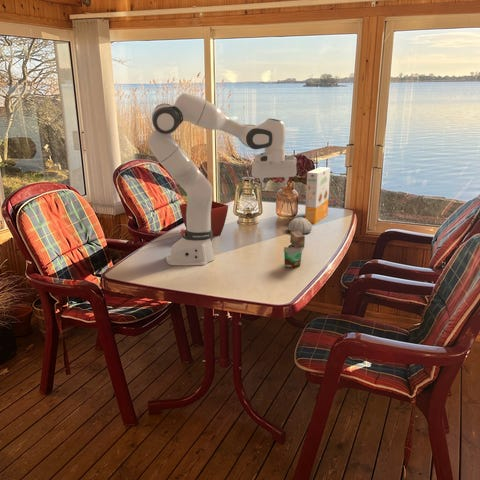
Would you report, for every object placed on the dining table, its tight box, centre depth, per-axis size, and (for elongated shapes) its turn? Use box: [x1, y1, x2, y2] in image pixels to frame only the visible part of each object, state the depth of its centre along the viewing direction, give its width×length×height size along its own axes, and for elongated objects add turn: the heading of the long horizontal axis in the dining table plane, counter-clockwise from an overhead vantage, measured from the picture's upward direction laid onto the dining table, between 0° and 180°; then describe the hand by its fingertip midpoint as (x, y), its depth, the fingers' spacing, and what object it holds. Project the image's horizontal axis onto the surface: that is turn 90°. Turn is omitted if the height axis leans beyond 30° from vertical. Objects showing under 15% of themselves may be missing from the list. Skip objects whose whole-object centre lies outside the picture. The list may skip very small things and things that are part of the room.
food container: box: [283, 243, 305, 269], centre depth 211 cm, size 12×6×10 cm, turn 148°
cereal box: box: [304, 166, 331, 225], centre depth 285 cm, size 22×6×30 cm, turn 151°
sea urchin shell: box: [287, 216, 313, 235], centre depth 263 cm, size 13×14×8 cm
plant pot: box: [179, 200, 229, 238], centre depth 254 cm, size 19×19×17 cm
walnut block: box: [289, 231, 306, 249], centre depth 208 cm, size 4×8×5 cm, turn 10°
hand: (273, 187), depth 215 cm, fingers open, 8 cm apart
